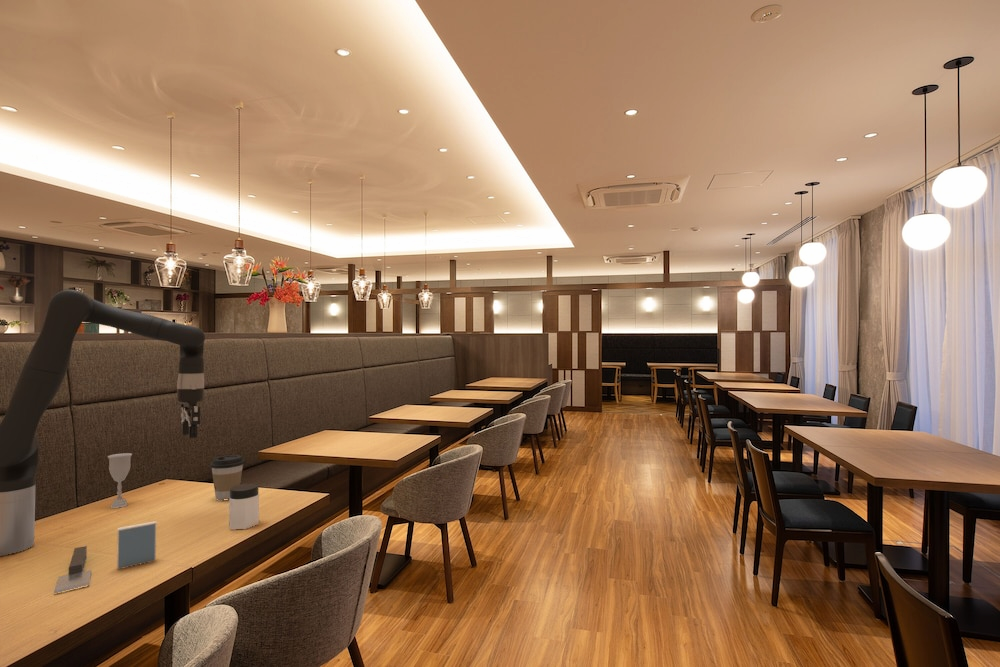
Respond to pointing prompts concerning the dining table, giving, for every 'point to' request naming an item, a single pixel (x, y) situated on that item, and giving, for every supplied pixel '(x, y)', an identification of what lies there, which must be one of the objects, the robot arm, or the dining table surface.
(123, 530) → the tile
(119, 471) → the chalice
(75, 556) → the turner
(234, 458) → the coffee cup
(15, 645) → the dining table surface
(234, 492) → the jar
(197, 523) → the dining table surface
